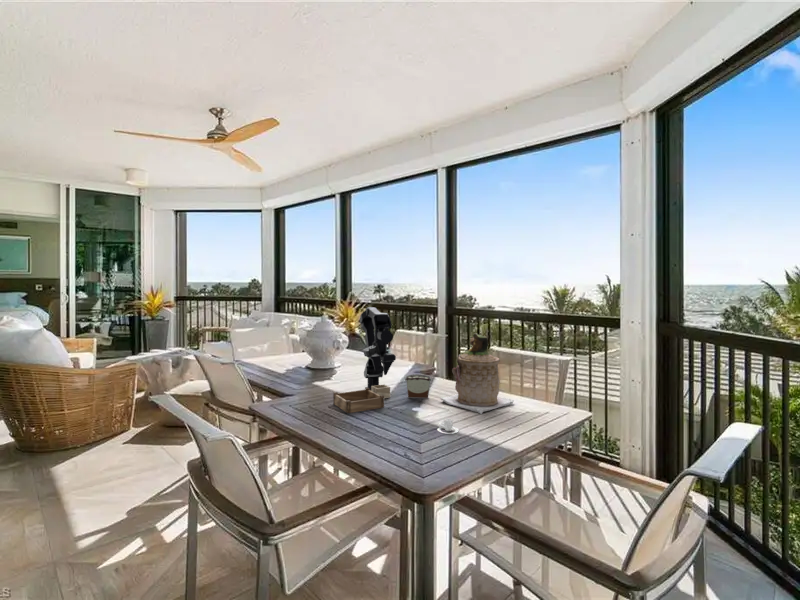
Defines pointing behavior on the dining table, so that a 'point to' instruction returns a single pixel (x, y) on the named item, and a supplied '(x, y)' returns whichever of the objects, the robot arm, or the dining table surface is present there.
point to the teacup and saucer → (447, 426)
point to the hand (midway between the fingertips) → (380, 372)
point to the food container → (418, 385)
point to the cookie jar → (477, 379)
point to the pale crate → (381, 390)
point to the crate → (358, 400)
